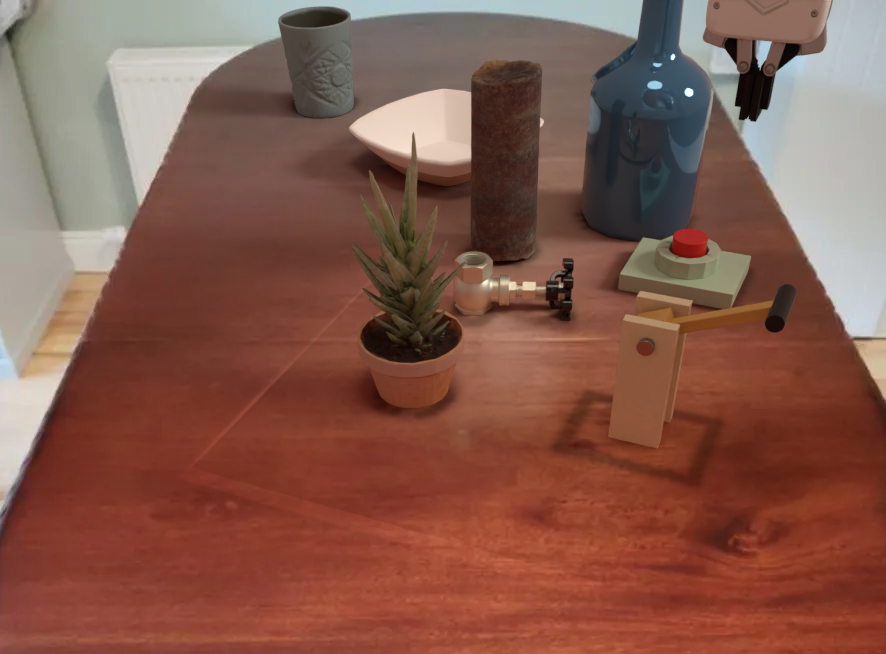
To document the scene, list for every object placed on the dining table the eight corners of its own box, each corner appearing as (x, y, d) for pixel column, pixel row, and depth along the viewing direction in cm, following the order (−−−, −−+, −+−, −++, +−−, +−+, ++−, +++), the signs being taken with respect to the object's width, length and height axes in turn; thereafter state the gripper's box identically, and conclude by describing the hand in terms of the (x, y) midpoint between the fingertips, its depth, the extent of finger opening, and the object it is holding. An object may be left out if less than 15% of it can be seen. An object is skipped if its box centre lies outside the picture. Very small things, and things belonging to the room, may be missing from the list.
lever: (799, 305, 77) (793, 276, 76) (787, 336, 74) (781, 307, 73) (650, 330, 84) (643, 304, 83) (634, 361, 81) (626, 334, 80)
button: (709, 247, 106) (712, 231, 105) (700, 262, 104) (703, 246, 103) (675, 241, 107) (678, 226, 106) (667, 256, 105) (669, 240, 104)
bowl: (563, 160, 131) (565, 118, 128) (451, 216, 121) (450, 172, 117) (443, 120, 142) (442, 81, 138) (331, 168, 131) (326, 127, 128)
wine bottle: (712, 213, 120) (765, -84, 98) (659, 257, 112) (704, -54, 91) (612, 186, 126) (641, -100, 104) (556, 226, 118) (575, -73, 97)
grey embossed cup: (354, 119, 143) (347, 27, 135) (284, 120, 143) (272, 28, 135) (360, 94, 150) (353, 4, 142) (293, 95, 151) (282, 5, 142)
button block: (747, 274, 109) (754, 239, 106) (729, 314, 103) (736, 278, 101) (640, 255, 113) (645, 221, 110) (617, 292, 107) (621, 257, 104)
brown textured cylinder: (513, 277, 110) (520, 83, 96) (457, 261, 113) (455, 70, 99) (546, 248, 114) (557, 59, 100) (491, 234, 117) (494, 48, 103)
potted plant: (387, 442, 90) (367, 165, 72) (348, 389, 96) (320, 121, 78) (486, 412, 92) (490, 138, 75) (442, 362, 98) (436, 98, 81)
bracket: (717, 427, 90) (745, 297, 81) (692, 485, 84) (720, 353, 75) (589, 398, 94) (602, 271, 84) (558, 453, 88) (568, 322, 79)
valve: (451, 335, 102) (569, 337, 101) (450, 275, 97) (574, 276, 96) (455, 302, 106) (568, 304, 106) (454, 243, 102) (573, 244, 101)
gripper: (689, -116, 81) (661, 121, 94) (883, -107, 76) (825, 140, 89) (711, -134, 86) (681, 93, 99) (895, -127, 81) (838, 111, 94)
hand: (750, 115), depth 94 cm, fingers closed
